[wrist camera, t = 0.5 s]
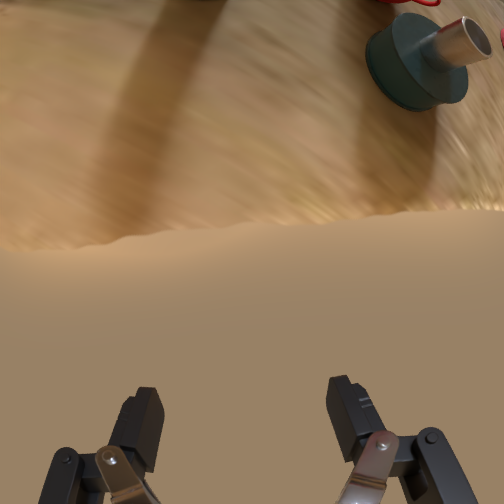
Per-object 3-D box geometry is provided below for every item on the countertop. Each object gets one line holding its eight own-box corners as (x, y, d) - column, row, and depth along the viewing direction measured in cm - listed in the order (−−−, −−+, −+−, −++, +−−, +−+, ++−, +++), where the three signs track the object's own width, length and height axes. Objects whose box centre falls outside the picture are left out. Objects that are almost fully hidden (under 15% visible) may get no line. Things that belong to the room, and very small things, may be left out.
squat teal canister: (357, 23, 30) (380, 0, 22) (428, 44, 31) (455, 30, 23) (373, 104, 35) (403, 91, 26) (443, 118, 36) (476, 113, 27)
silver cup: (415, 33, 24) (456, 9, 14) (443, 44, 24) (484, 26, 14) (424, 67, 25) (471, 48, 16) (452, 77, 26) (497, 64, 16)
